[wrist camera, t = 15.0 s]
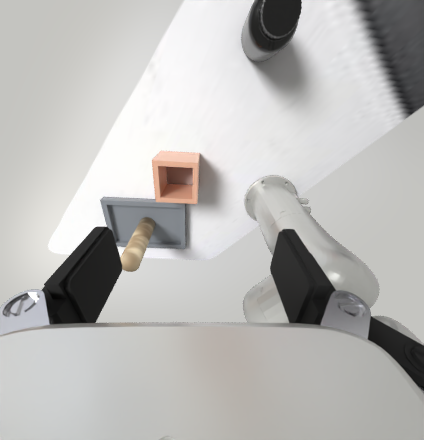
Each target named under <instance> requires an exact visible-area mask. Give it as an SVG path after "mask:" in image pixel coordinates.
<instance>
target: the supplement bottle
mask: <svg viewBox="0 0 424 440" xmlns="http://www.w3.org/2000/svg"><path fill="white" fill-rule="evenodd" d="M301 3H302V2H301V0H255V1H254V3H253V5H252V7H251V9H250V11H249V14H248V16H247V19H246V21H245V23H244V26H243V29H242V35H241V42H242V47H243V50H244V52H245V54H246V55H247V57H248V58H249V59H251V60H253V61H255V62H262V61H265V60H267V59H269V58H271V57H272V56H273V55H275V54H276V53H278V52H279V51H280V50H282V49H283V48H284V47H285V46H286V45H287V44H288V43H289V42H290V40H291V39H292V37H293V36H294V34H295V31H296V28H297V25H298V20H299V15H300V14H301V8H302V7H301Z"/></svg>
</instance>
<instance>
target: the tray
mask: <svg viewBox="0 0 424 440" xmlns="http://www.w3.org/2000/svg"><path fill="white" fill-rule="evenodd" d="M100 201H101V205H102V209H103V213H104V217H105V221H106V225H107V227H108V228H109V229H111V230H112V232H113V235H114V238H115V242H116V245H117V246H120V247H126V246H127V245H128V243H129V241H130V239H131V237H132V235H133V233H134V231H135V230H136V228H137V226H138V224H139V222H140V220H141V219H142V218H144V217H149V218H151V219H153V220H154V222H155V228H154V230H153V233H152V235H151V238H150V240H149V243H148V245H147V248H174V249H185V247H186V211H185V203H166V202H156V199H140V198H119V197H103V198H102V199H101V200H100Z"/></svg>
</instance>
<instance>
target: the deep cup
mask: <svg viewBox="0 0 424 440" xmlns="http://www.w3.org/2000/svg"><path fill="white" fill-rule="evenodd" d="M199 163H200V153H189V152H172V151H160V152H159V153H158V154H157V155H156V156H155V157H154V159H153V160H152V167H153V178H154V188H155V199H156V202H166V203H187V204H197V201H198V192H199ZM166 166H167V167H185V168H193V185H183V184H167V169H166Z"/></svg>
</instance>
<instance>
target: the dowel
mask: <svg viewBox="0 0 424 440" xmlns="http://www.w3.org/2000/svg"><path fill="white" fill-rule="evenodd" d="M154 228H155V222H154V220H153V219H151V218H149V217H144V218H142V219H141V220H140V222H139V224H138V226H137V228H136V230H135V231H134V233H133V235H132V237H131V239H130V241H129V243H128V245H127V246H126V248H125V250H124V252H123V254H122V256H121V258H120V259H121V263H122V269H123V270H125V271H130V272H132V271H136V270H137V269H138V268H139V266H140V263H141V261H142V258H143V256H144V253H145V251H146V248H147V245H148V243H149V240H150V238H151V235H152V233H153V230H154Z"/></svg>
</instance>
